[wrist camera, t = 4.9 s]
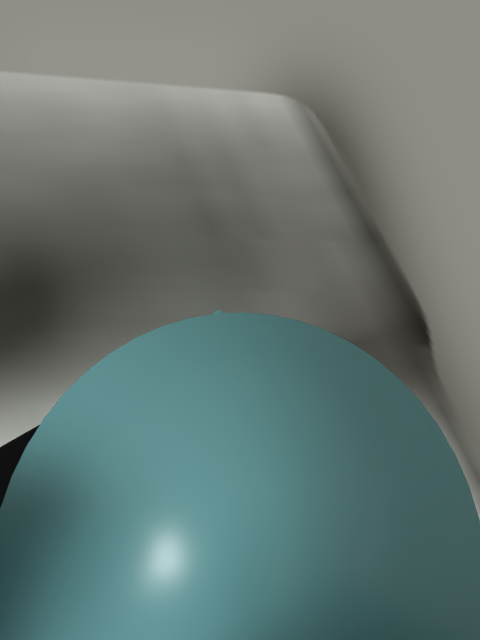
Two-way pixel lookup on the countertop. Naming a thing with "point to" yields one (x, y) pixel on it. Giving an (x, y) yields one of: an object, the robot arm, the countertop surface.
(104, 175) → the countertop surface
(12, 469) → the robot arm
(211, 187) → the countertop surface
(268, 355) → the teal rounded cylinder
